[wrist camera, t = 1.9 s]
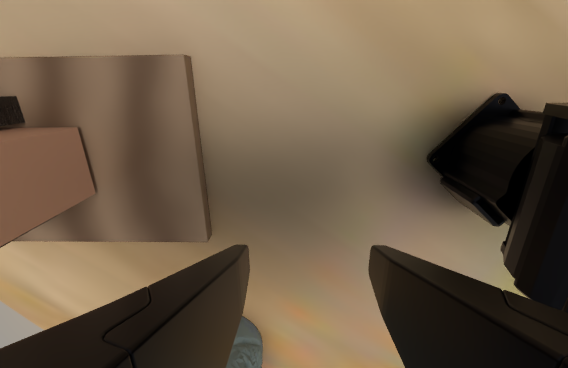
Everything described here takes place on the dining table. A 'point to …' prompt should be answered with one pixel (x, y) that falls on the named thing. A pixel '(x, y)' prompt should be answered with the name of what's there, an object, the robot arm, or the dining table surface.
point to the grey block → (11, 120)
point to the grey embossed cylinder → (246, 347)
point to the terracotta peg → (39, 177)
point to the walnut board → (120, 143)
